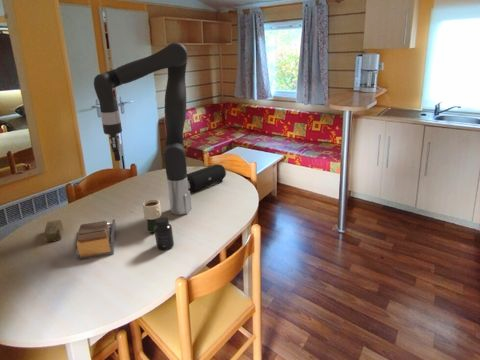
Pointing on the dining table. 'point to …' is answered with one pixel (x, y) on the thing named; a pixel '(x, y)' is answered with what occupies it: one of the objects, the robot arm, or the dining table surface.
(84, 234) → the brown wooden block
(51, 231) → the stone block
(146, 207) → the character mug
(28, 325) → the dining table surface
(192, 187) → the portable speaker
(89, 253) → the roller track
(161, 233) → the supplement bottle
